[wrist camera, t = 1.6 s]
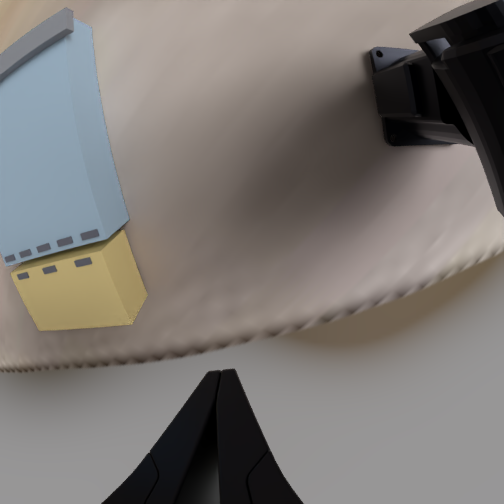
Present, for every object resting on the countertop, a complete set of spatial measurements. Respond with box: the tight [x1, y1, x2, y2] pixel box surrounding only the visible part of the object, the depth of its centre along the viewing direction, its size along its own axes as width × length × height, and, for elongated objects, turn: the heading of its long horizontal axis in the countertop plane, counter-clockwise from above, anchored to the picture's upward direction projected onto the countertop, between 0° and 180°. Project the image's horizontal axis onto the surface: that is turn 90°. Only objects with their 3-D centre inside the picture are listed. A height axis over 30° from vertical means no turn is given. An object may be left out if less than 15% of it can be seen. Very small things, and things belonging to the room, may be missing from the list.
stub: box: [10, 230, 148, 331], centre depth 17 cm, size 9×5×4 cm, turn 101°
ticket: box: [0, 7, 130, 266], centre depth 13 cm, size 11×14×4 cm
